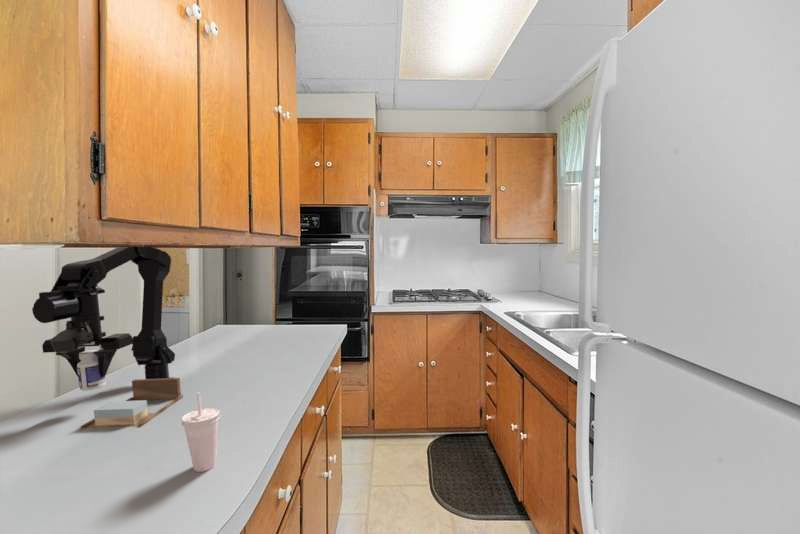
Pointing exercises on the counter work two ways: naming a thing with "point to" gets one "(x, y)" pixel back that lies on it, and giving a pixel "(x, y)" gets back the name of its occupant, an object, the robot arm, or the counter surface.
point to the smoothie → (202, 436)
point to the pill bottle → (89, 371)
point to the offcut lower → (121, 419)
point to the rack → (149, 397)
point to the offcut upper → (120, 409)
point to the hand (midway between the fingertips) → (91, 377)
